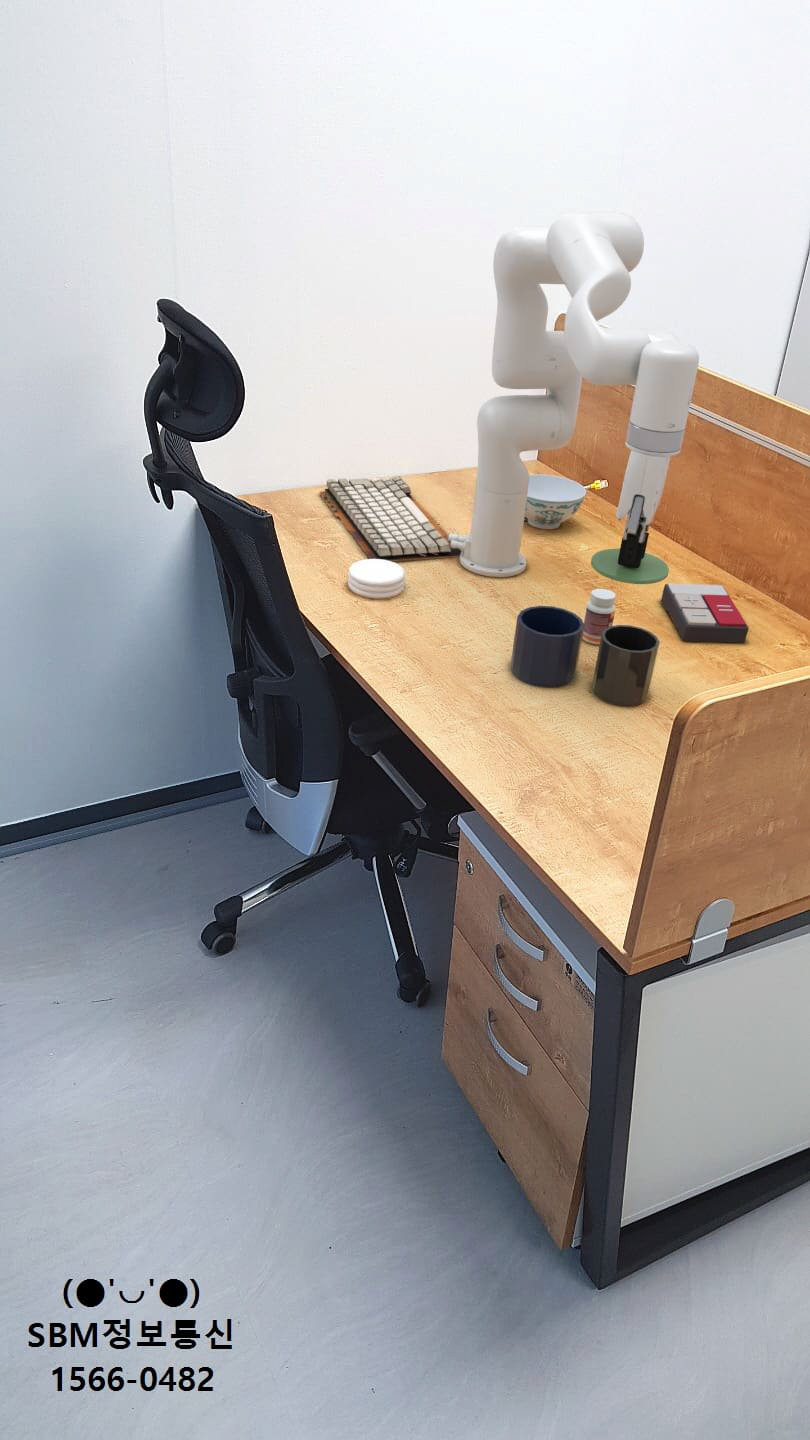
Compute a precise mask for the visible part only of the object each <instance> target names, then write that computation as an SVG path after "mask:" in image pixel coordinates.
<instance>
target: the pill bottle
mask: <svg viewBox="0 0 810 1440" xmlns="http://www.w3.org/2000/svg"><path fill="white" fill-rule="evenodd" d="M616 596H617V595H616V593H615V592H614V591H613V590H610V589H607V588H595V589H593V590H591V592H590V596H589V600H588V601H587V603H586V606H585V612H584V613H585V614H584V618H583V623H584V631H583V637H582V640H583V641H584V642H586V643H588V644H592V645H597V646H599V645H600V639H601V634H602V632H603V630H604V629H606V628H608V627H610V626H614V625H613V624H614V620H615V614H616V605H615V602H616V598H617V597H616Z"/></svg>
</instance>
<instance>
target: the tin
mask: <svg viewBox="0 0 810 1440" xmlns="http://www.w3.org/2000/svg"><path fill="white" fill-rule="evenodd" d="M583 631H584V620H583V619H582V618H581V617H580V616H579V615H577V614H576V613H575V612H572V611H570V610H568V609H565V608H561V607H557V606H552V605H536V606H535V605H534V606H530V607H529V606H528V607H526V608H524V609H522V610H520V611H519V613H518V615H517V617H516V624H515V630H514V636H513V637H514V638H513V645H512V651H511V660H510V670H511V673H512V675H513V676H514V677H515V678H516V679H517V680H519V681H521V682H523V683H525V684H528V685H531V686H534V687H538V688H549V689H551V688H560V687H564V686H567V685H569V684H570V683H572V682H573V681H574V680H575V677H576V674H577V669H578V664H579V659H580V653H581V648H582V641H583V638H582V637H583Z"/></svg>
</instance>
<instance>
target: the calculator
mask: <svg viewBox="0 0 810 1440" xmlns="http://www.w3.org/2000/svg"><path fill="white" fill-rule="evenodd" d="M661 594H662V595H661V598H660V599H661V600H660V603H661V605H662V607H663V608H664V610H665V612H667V613H668V614H669V616H670V618H671V620H672V623H673V624H674V626H675V628H676V630H677V632H678V633H679V636H680V638H681V639H682V641H684V642H703V643H705V642H707V643H738V644H744V643H745V642H746V640H747V635H748V632H749V629H750V627H749V625H748V624H747V621H745V619H744V617H743V615H742V613H740V611H739V609H738V608H737V606H736V604H735V603H734V601H733V599H732V598H731V596H730V595H729V593H728V591H727V590H726V588H725V586H723V585H721V584H701V583H698V584H696V583H695V584H694V583H671V582H670V583H665V584H664V586H663V590H662V593H661Z"/></svg>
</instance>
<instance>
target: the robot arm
mask: <svg viewBox="0 0 810 1440" xmlns="http://www.w3.org/2000/svg"><path fill="white" fill-rule="evenodd" d="M644 249H645V237H644V233H643V230H642V227H641V225H640V223H639V222H638V221H637V219H636V218H634V217H633V216H631V215H630V214H628V213H623V212H607V211H606V212H603V211H602V212H601V211H574V212H568V213H566V214H564V215H562V216H559V217H558V218H557V219H555V221H553V223H552V224H551V225H527V226H518V227H513V228H510V229H508V230H506V231H505V232H503V233H502V234H501V236H500V237H499V238H498V240H497V243H496V245H495V247H494V254H493V261H492V262H493V264H492V266H493V267H492V268H493V280H494V285H495V290H496V299H497V300H496V301H497V303H496V304H497V307H496V316H495V327H494V337H493V345H492V357H491V375H492V379H493V381H494V382H495V384H496V385H497V386H499V387H501V388H504V389H507V390H546V394H513V395H512V394H511V395H509V394H508V395H499V396H495V397H492V398H489V399H488V400H486V401H485V402H484V403H482V405H481V406H480V408H479V410H478V413H477V417H476V418H477V419H476V427H477V445H478V446H477V447H478V448H477V449H478V451H477V452H478V454H477V455H478V456H477V469H476V479H475V488H474V489H475V490H474V499H473V506H472V507H473V509H472V516H471V527H470V534H465V535H460V534H459V533H453V532H450V533H449V534H448V536H447V537H448V543H451V547H452V548H456V549H457V548H458V549H460V550H461V551H462V552H461V554H460V557H459V563H460V564H461V566H462V567H463V568H464V569H466V570H468V571H470V572H471V573H474V574H477V575H480V576H485V577H492V578H507V577H514V576H517V575H520V574H521V573H522V572H524V571H525V570H526V568H527V559H526V557H525V556H524V555H523V554H522V553H520V552H521V544H522V537H523V530H524V523H525V508H526V501H527V494H528V485H529V475H530V473H529V470H528V467H527V466H526V464H525V463H524V462H523V459H522V457H521V453H523V452H529V451H549V450H553V451H554V450H560V449H563V448H565V447H566V446H568V445H569V444H570V442H571V441H572V439H573V437H574V434H575V430H576V424H577V418H578V411H579V404H580V398H581V390H582V385H583V379H584V380H585V381H586V382H587V383H589V384H592V385H594V386H599V387H603V386H604V387H605V386H606V387H607V386H608V387H609V386H635V388H634V393H633V399H632V405H631V410H630V416H629V420H628V425H627V432H626V438H625V442H624V443H625V447H626V448H627V449H629V450H630V454H629V457H628V461H627V465H626V468H625V473H624V478H623V482H622V487H621V492H620V497H619V501H618V506H617V510H616V514H615V518H616V519H617V521H621V520H624V519H626V521H625V526H624V531H623V535H622V538H621V542H620V547H619V549H620V552H619V558H618V564H619V565H622V566H627V567H632V568H639V567H640V564H641V559H643V558H644V556H645V553H646V550H647V546H648V540H649V535H650V533H649V529H650V525H651V523H652V521H653V519H654V517H655V514H656V513H657V510H658V508H659V505H660V502H661V499H662V495H663V492H664V489H665V484H666V479H667V475H668V471H669V465H670V461H671V457H674V456H676V455H679V454H680V453H681V452H682V451H681V450H682V446H683V441H684V437H685V431H686V426H687V421H688V416H689V412H690V406H691V402H692V398H693V392H694V389H695V383H696V378H697V375H698V374H697V373H698V369H699V363H700V355H699V352H698V350H697V349H696V348H695V347H694V346H692V345H690V344H689V343H688V344H687V343H685V342H682V341H681V340H680V339H679V337H678V336H677V335H676V334H675V333H674V332H673V331H671V330H670V329H667V328H664V327H603V326H601V325H600V324H599V323H598V322H599V321H600V320H602V319H604V318H606V317H608V316H610V315H611V314H613V313H615V312H616V311H617V310H618V309H619V308H620V307H621V306H622V305H623V304H624V303H625V301H626V300H627V299H628V296H629V294H630V291H631V287H632V279H631V275H630V273H631V272H633V270H635V268H637V267H638V265H639V264H640V262H641V260H642V257H643V254H644ZM541 285H564V286H565V288H566V290H567V292H568V293H569V296H570V297H571V300H570V302H569V304H568V307H567V309H566V313H565V317H564V325H563V326H564V329H563V330H547V323H548V314H549V303H548V299H547V296H546V294H545V292H544V290H543V288H542V286H541ZM640 529H641V531H640ZM645 532H646V537H645V542H644V541H643V539H644V534H645Z"/></svg>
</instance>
